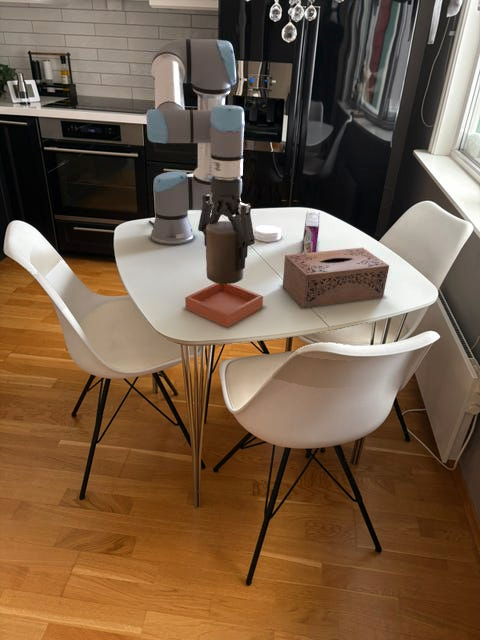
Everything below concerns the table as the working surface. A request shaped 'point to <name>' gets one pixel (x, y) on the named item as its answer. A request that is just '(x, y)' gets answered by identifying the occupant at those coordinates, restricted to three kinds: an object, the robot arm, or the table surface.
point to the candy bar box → (310, 232)
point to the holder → (224, 303)
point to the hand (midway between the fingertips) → (225, 263)
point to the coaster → (267, 233)
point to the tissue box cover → (334, 276)
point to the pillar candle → (222, 253)
